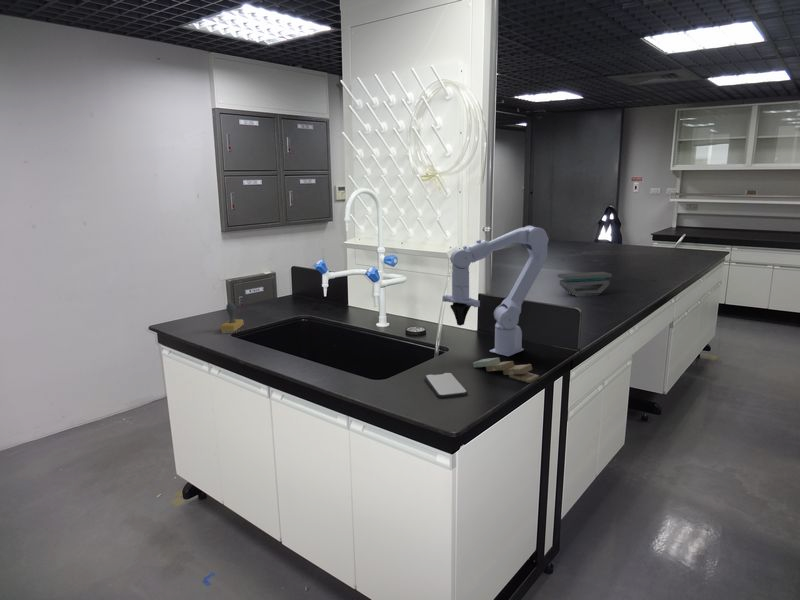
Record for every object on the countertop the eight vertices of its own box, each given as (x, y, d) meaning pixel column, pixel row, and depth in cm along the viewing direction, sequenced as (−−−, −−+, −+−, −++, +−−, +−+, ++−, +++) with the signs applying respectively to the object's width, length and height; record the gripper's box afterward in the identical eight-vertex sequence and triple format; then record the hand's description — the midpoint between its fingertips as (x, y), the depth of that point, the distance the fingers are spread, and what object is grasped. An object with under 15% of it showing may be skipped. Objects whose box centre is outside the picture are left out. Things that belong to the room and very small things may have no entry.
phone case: (469, 397, 144) (451, 376, 160) (469, 392, 144) (451, 371, 159) (438, 401, 143) (423, 379, 158) (438, 395, 142) (423, 374, 157)
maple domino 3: (509, 374, 157) (529, 380, 152) (518, 370, 160) (539, 375, 155) (509, 379, 157) (529, 385, 152) (518, 375, 161) (538, 380, 156)
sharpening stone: (602, 292, 273) (603, 271, 271) (610, 295, 266) (611, 274, 263) (557, 294, 270) (557, 273, 268) (563, 297, 263) (564, 276, 260)
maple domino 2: (502, 369, 158) (521, 368, 153) (512, 365, 162) (531, 364, 156) (503, 374, 158) (522, 373, 153) (513, 370, 162) (532, 369, 156)
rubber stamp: (234, 334, 213) (232, 305, 210) (221, 334, 213) (218, 305, 211) (244, 327, 223) (241, 300, 220) (231, 327, 223) (228, 300, 221)
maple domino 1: (485, 366, 162) (502, 364, 157) (496, 362, 165) (513, 360, 160) (486, 371, 162) (503, 369, 157) (497, 367, 165) (514, 365, 160)
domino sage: (472, 362, 166) (488, 361, 161) (483, 359, 169) (499, 357, 164) (473, 367, 166) (489, 366, 161) (484, 363, 169) (500, 362, 164)
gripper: (436, 284, 177) (436, 323, 180) (470, 289, 167) (470, 330, 170) (449, 281, 182) (450, 319, 185) (483, 286, 171) (483, 326, 174)
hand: (460, 324), depth 177 cm, fingers closed
